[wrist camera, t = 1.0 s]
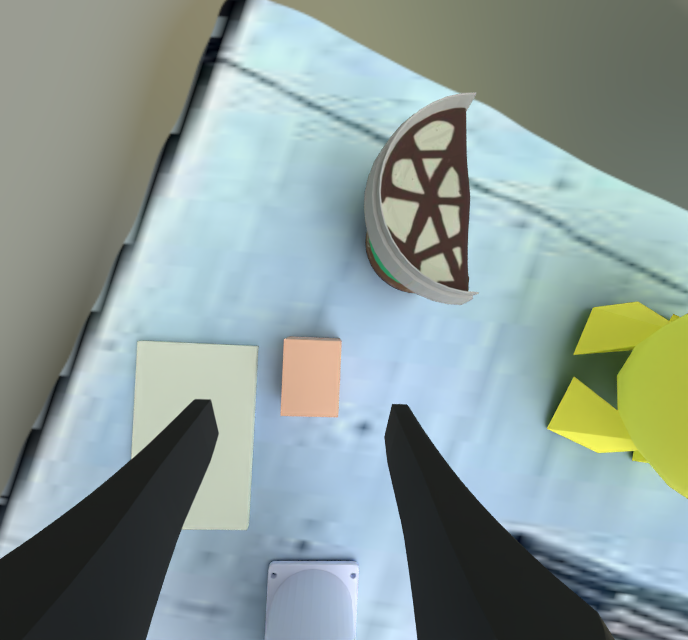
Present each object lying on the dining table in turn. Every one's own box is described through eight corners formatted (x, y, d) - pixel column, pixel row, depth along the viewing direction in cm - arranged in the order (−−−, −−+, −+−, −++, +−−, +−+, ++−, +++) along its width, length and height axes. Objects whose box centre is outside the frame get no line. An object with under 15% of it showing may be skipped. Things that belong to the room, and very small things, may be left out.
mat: (249, 524, 24) (246, 530, 24) (132, 523, 24) (127, 529, 23) (258, 345, 24) (256, 346, 24) (142, 340, 24) (137, 341, 23)
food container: (351, 175, 25) (367, 78, 15) (417, 176, 25) (476, 82, 15) (353, 310, 25) (370, 304, 15) (419, 309, 25) (479, 303, 15)
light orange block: (336, 403, 25) (338, 417, 22) (287, 402, 25) (280, 415, 21) (339, 338, 25) (341, 341, 22) (290, 336, 25) (283, 339, 21)
